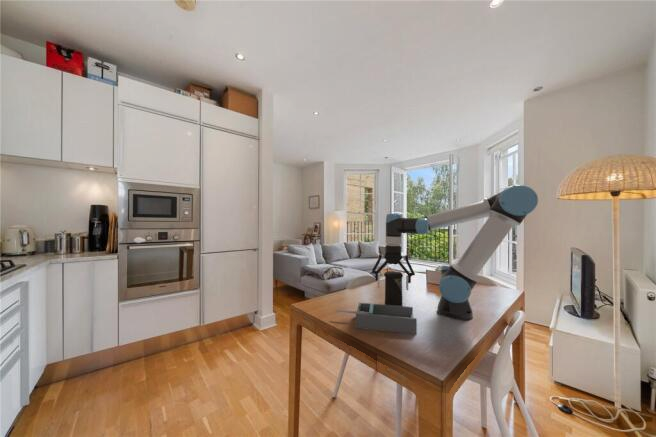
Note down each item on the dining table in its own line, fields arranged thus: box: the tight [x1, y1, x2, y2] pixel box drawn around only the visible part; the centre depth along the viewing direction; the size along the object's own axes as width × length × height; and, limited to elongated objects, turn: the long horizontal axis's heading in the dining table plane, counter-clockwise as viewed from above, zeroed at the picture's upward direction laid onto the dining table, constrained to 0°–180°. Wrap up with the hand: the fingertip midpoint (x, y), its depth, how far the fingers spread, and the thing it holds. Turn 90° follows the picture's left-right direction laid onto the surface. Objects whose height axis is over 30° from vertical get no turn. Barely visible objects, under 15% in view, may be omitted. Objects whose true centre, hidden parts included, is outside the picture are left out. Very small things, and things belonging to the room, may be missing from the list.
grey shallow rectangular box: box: [355, 302, 418, 335], centre depth 103 cm, size 24×14×6 cm, turn 77°
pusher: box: [335, 303, 375, 314], centre depth 106 cm, size 16×11×5 cm
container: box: [383, 270, 404, 306], centre depth 116 cm, size 9×9×20 cm
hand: (392, 288), depth 116 cm, fingers open, 13 cm apart
